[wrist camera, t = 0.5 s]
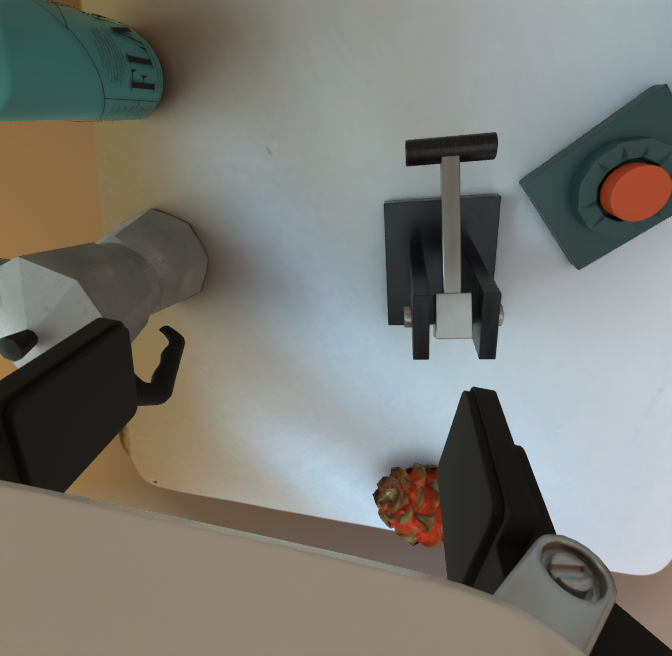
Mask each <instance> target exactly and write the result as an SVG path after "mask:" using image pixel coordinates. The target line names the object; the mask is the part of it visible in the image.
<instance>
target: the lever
mask: <svg viewBox="0 0 672 656" xmlns="http://www.w3.org/2000/svg"><path fill="white" fill-rule="evenodd" d="M497 148H498V136H497V133H496V132H491V133H480V134H469V135H458V136H447V137H436V138H425V139H414V140H406V142H405V149H406V166H418V165H430V164H440V175H441V248H442V293H437V294H435V295H433V336H434V337H435V338H436V339H470V338H473V308H472V293H461V218H460V162H468V161H480V160H493V159H495V157H496V154H497Z"/></svg>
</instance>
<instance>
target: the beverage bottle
mask: <svg viewBox="0 0 672 656" xmlns="http://www.w3.org/2000/svg"><path fill="white" fill-rule="evenodd" d="M52 2H53V1H52ZM83 11H84V10H83ZM81 12H82V11H81ZM81 12H78V11H75V10H72V9H69V8H65V7H62V6H59V5H56V3H55V2H54V4H52V3H51V2H46V1H43V0H0V121H27V120H28V121H29V120H98V121H99V120H101V121H102V120H118V121H119V120H136V119H140V118H143V117H145V116H146V115H148V114H149V113H150V114H151V113H152V112H153V110H154V109H155V108H156V106H157V105H158V103H159V101H160V99H161V96H162V91H163V73H162V69H161V65H160V63H159V60H158V58H157V56H156V54H155V52H154V51H153V49H152V48H151V46H150V45H149V44H148V42H146V41H145V40H144V39H143V38H144V37H143V36H142V35H141V34H140V33H139V34H140V35H141V36H142V37H143V38H142V37H141V36H140V35H139V34H137V33H136V32H135V31H133V30H131V29H132V28H131V29H130V28H128V27H125V25H124V26H123V25H120V24H121V23H120V22H118V23H120V24H116V23H113V22H110V21H112V20H113V19H112V20H111V19H109V18H108V20H105V19H100V17H103V16H100V15H96V14H94V15H95V16H97V17H99V18H97V17H94V16H93V14H92V15H89V13H87V14H85V12H83V13H81ZM90 13H91V12H90ZM104 18H106V17H104ZM113 21H114V20H113ZM126 25H127V24H126ZM134 30H135V29H134ZM150 114H149V115H150ZM149 115H148V116H149ZM145 118H146V117H145ZM143 119H144V118H143Z"/></svg>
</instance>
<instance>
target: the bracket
mask: <svg viewBox="0 0 672 656" xmlns="http://www.w3.org/2000/svg"><path fill="white" fill-rule="evenodd" d="M500 201H501V196H500V195H499V194H483V195H469V196H460V218H461V293H472V308H473V338H472V339H473V342H474V345H475V348H476V351H477V354H478V358H479V359H495V358H496V347H497V337H498V326H501V325H502V324H503V318H504V313H503V307H502V304H501V295H502V294H501V292H500V290H499V288H498V287H497V285H496V283H495V281H494V272H495V260H496V248H497V236H498V225H499V213H500ZM384 219H385V246H386V273H387V300H388V325H405V327H412V347H413V359H414V360H428V359H429V326H430V324H433V295H435V294H437V293H442V248H441V197H439V198H424V199H409V200H394V201H385V202H384Z"/></svg>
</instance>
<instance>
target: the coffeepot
mask: <svg viewBox="0 0 672 656" xmlns="http://www.w3.org/2000/svg"><path fill="white" fill-rule="evenodd" d="M207 263H208V257H207V255H206V253H205V251H204V249H203V247H202V244H201V242H200V240H199V239H198V237H197V236H196V234H195V233H194V232H193V231H192V230H191V228H190V226H189V224H187V223H185V222H183V221H181V220H179V219H177V218H175V217H173V216H171V215H168V214H165V213H161V212H159V211H156V210H154V209H149V210H147V211H145V212H143V213H141V214H139V215H137V216H135V217H133V218H131V219H129V220H127V221H125V222H123V223H121V224H120V225H119V226H117V227H116V228H115V229H113V230H112V231H111V232H109V233H108V234H107V235H105V236H104V237H103V238H102V239H100V240H99V241H98V242H96V243H88V244H83V245H78V246H72V247H66V248H61V249H55V250H50V251H45V252H39V253H33V254H28V255H22V256H19V257H17V258H15V259H13V260H11V259H2V258H0V353H1V355H2V356H3V357H4V358H6V359H9V360H11V361H13V363H14V364H15V365H16V366H17V368H18V369H19V368H20V367H22V366H23V365H25V364H26V363H28V362H30V361H31V360H33V359H34V358H36V357H37V356H39V355H41V354H42V353H44V352H45V351H47V350H48V349H50V348H51V347H53V346H55V345H56V344H58V343H59V342H61V341H62V340H64V339H65V338H67V337H69V336H70V335H72V334H73V333H75V332H76V331H78V330H79V329H81V328H83V327H84V326H86V325H87V324H89V323H90V322H92V321H93V320H95V319H97V318H99V317H102V318H108V319H113V320H118V321H121V322H123V324H124V326H125V327H127V328H128V329H129V332H130V340H131V343H132V342H133V341H134V339H135V338H136V337H137V335H138V334H139V333H140V332H141V330H142V329H143V328H144V327H145V325H146V324H147V323H148V319H149V315H151V314H154V313H156V312H158V311H160V310H162V309H164V308H167V307H169V306H171V305H173V304H175V303H177V302H179V301H181V300H184V299H186V298H188V297H190V296H192V295H194V294H196V293H199V292H201V288H202V284H203V281H204V278H205V275H206V269H207ZM159 330H160V331H161V332H162V333H163V334H164V335H165V336H166V338H167V339H168V340H169V345H168V346H167V347H166V348H165V349H164V350H163V352H162V353H161V360H160V364H159V366H158V367H157V369H156V370H155V372H154V373H153V375H152V379H151V383H146V382H144V381H142V380H141V379H140V378H139V377H138V376H137V375H136V374H135V373H134V376H135V385H136V393H137V402H138V406H147V405H159V404H162V403H165V402H166V401H167V400H168V399H169V398H170V397H171V395H172V392H173V388H174V383H175V379H176V375H177V372H178V368H179V364H180V360H181V356H182V353H183V349H184V345H185V340H184V337H183V336H182V335H181V334H179V333H178V332H177V331H175V330H174V329H172V328H171V327H169V326H163V327H162V328H160V329H159Z"/></svg>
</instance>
